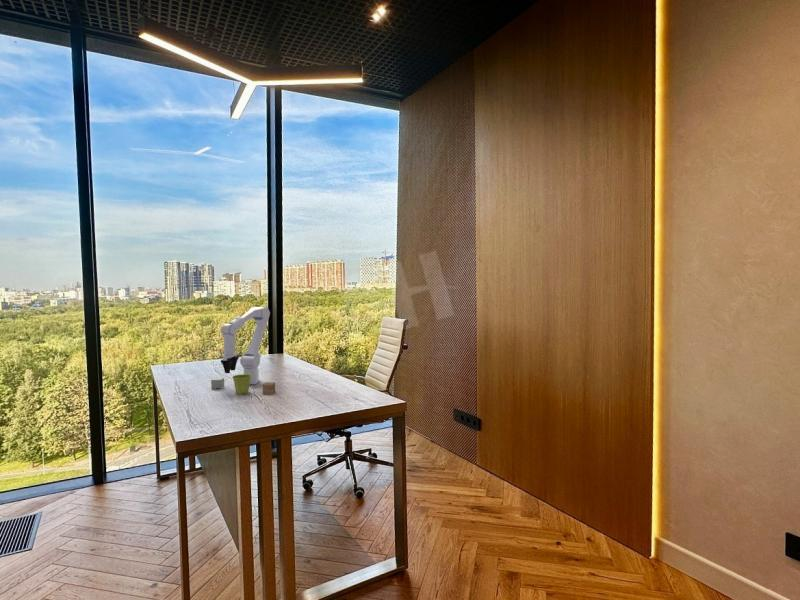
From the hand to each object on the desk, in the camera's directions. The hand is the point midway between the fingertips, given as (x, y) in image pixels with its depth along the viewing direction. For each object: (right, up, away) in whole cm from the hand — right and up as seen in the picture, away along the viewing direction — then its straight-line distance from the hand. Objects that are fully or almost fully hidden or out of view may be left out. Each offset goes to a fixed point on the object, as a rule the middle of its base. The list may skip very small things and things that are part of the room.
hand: (230, 371), depth 243 cm
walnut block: (+23, -10, -8) cm, 26 cm away
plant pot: (+9, -10, -8) cm, 15 cm away
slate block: (-8, -9, +3) cm, 13 cm away
